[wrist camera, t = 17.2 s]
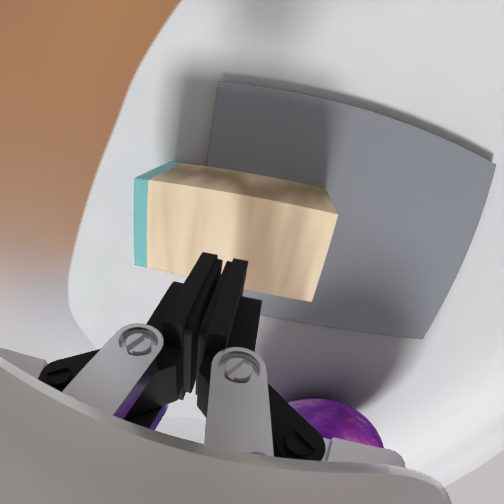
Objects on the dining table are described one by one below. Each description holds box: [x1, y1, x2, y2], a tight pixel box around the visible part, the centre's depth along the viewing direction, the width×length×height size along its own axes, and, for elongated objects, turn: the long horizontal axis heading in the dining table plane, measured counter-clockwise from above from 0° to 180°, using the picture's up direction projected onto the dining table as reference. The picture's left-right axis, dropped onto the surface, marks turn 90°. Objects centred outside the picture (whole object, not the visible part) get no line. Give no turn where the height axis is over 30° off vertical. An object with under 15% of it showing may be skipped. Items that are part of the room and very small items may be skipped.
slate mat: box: [207, 81, 496, 339], centre depth 19 cm, size 20×16×1 cm
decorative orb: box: [287, 398, 384, 448], centre depth 22 cm, size 15×15×15 cm
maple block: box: [134, 161, 338, 302], centre depth 17 cm, size 5×5×10 cm
